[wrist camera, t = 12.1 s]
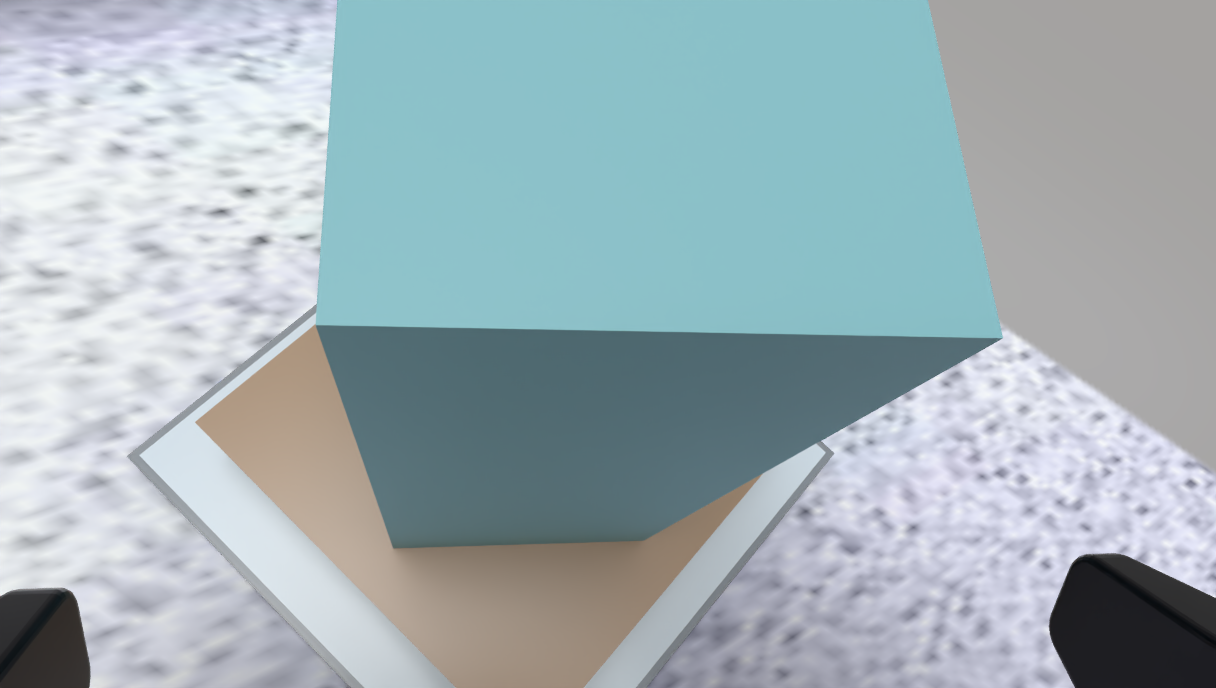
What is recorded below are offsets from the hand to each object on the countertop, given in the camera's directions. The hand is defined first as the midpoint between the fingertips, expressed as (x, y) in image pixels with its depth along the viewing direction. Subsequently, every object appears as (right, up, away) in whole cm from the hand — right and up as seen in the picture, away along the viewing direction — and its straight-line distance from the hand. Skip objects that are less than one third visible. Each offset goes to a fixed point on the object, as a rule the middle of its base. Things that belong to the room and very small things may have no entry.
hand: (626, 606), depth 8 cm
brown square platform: (-3, -1, +14) cm, 14 cm away
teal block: (-2, +1, +10) cm, 11 cm away
